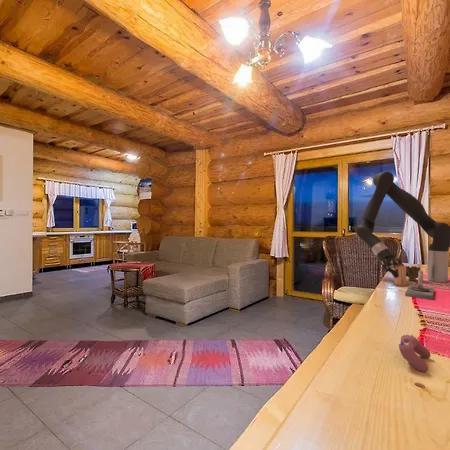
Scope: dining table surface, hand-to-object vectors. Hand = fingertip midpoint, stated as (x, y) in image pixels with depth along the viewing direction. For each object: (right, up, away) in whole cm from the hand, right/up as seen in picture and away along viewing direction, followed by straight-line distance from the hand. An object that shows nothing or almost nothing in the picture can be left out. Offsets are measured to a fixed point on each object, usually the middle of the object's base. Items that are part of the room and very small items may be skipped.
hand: (402, 276), depth 149 cm
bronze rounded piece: (+13, -5, +12) cm, 18 cm away
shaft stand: (-2, -5, -16) cm, 17 cm away
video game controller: (-48, -6, -81) cm, 94 cm away
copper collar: (-1, -5, +1) cm, 5 cm away
